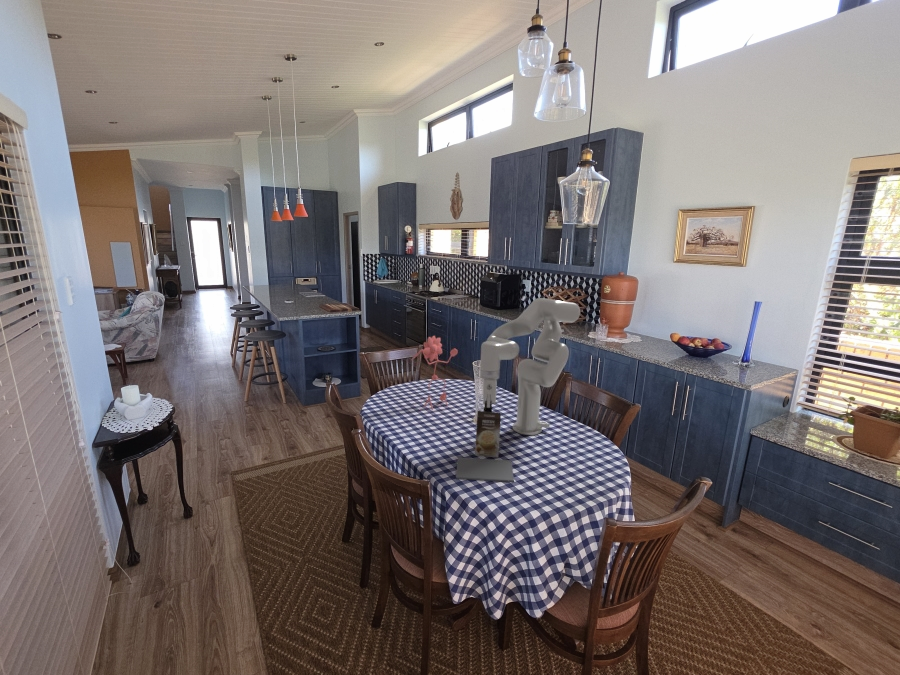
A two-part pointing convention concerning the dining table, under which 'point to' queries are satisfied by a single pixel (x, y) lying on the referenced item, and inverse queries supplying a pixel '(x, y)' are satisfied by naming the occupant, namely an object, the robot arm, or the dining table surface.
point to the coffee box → (487, 434)
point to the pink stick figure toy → (432, 352)
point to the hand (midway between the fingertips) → (487, 417)
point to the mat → (484, 469)
